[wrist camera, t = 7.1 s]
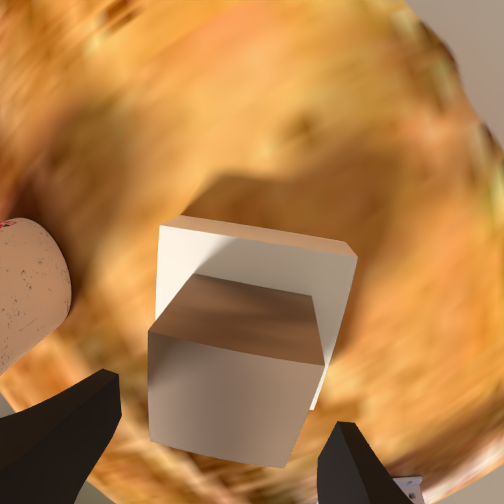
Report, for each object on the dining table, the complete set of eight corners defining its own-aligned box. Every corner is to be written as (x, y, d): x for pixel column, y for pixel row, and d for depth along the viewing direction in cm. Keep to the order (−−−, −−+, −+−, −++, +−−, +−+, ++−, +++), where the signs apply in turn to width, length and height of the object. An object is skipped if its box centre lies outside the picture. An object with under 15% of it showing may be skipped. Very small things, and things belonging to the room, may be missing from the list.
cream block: (344, 239, 17) (358, 257, 14) (309, 374, 20) (313, 410, 16) (182, 213, 18) (159, 225, 14) (173, 350, 20) (155, 381, 17)
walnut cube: (311, 295, 14) (325, 365, 9) (285, 388, 16) (284, 468, 11) (192, 273, 15) (148, 330, 9) (183, 368, 16) (150, 440, 11)
